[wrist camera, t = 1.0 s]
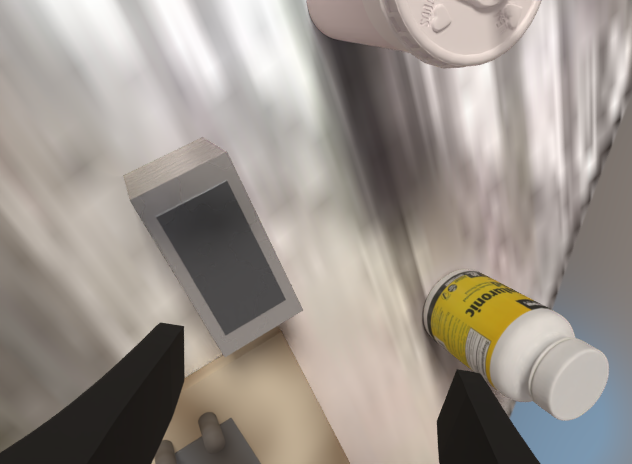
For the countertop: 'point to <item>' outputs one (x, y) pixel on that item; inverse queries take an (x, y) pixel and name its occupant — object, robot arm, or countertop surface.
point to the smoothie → (429, 26)
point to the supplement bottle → (515, 344)
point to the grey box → (213, 242)
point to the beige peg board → (250, 412)
